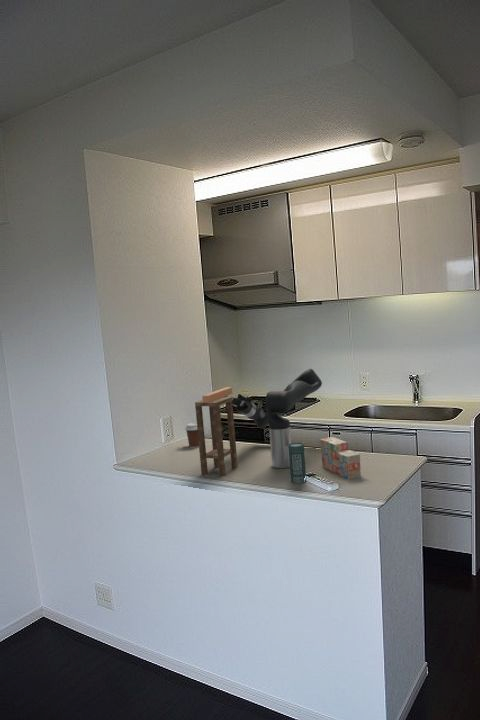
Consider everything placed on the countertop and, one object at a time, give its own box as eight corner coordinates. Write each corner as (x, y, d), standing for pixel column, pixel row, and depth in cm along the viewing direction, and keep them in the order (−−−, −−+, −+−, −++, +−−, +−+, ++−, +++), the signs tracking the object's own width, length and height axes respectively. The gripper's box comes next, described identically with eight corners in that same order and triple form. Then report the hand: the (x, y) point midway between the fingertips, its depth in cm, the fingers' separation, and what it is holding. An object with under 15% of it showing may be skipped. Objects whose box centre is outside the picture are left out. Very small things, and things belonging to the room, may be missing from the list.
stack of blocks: (361, 476, 227) (359, 446, 226) (347, 479, 225) (346, 449, 224) (334, 463, 247) (332, 436, 246) (321, 466, 245) (319, 438, 244)
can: (306, 478, 230) (303, 442, 229) (306, 483, 224) (303, 446, 223) (291, 478, 231) (288, 442, 230) (290, 483, 225) (288, 446, 224)
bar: (226, 393, 260) (226, 387, 260) (232, 393, 259) (232, 387, 258) (202, 402, 242) (202, 395, 241) (208, 402, 240) (208, 395, 240)
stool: (237, 467, 253) (231, 397, 250) (223, 476, 242) (217, 402, 238) (216, 466, 258) (210, 396, 255) (201, 474, 247) (195, 402, 243)
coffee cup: (204, 447, 293) (202, 424, 292) (187, 449, 292) (185, 426, 291) (203, 443, 302) (201, 421, 301) (186, 445, 301) (184, 423, 300)
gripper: (257, 415, 270) (242, 403, 257) (231, 414, 277) (215, 403, 264) (260, 400, 272) (245, 388, 259) (234, 399, 279) (218, 387, 266)
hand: (230, 395), depth 262 cm, fingers open, 8 cm apart
